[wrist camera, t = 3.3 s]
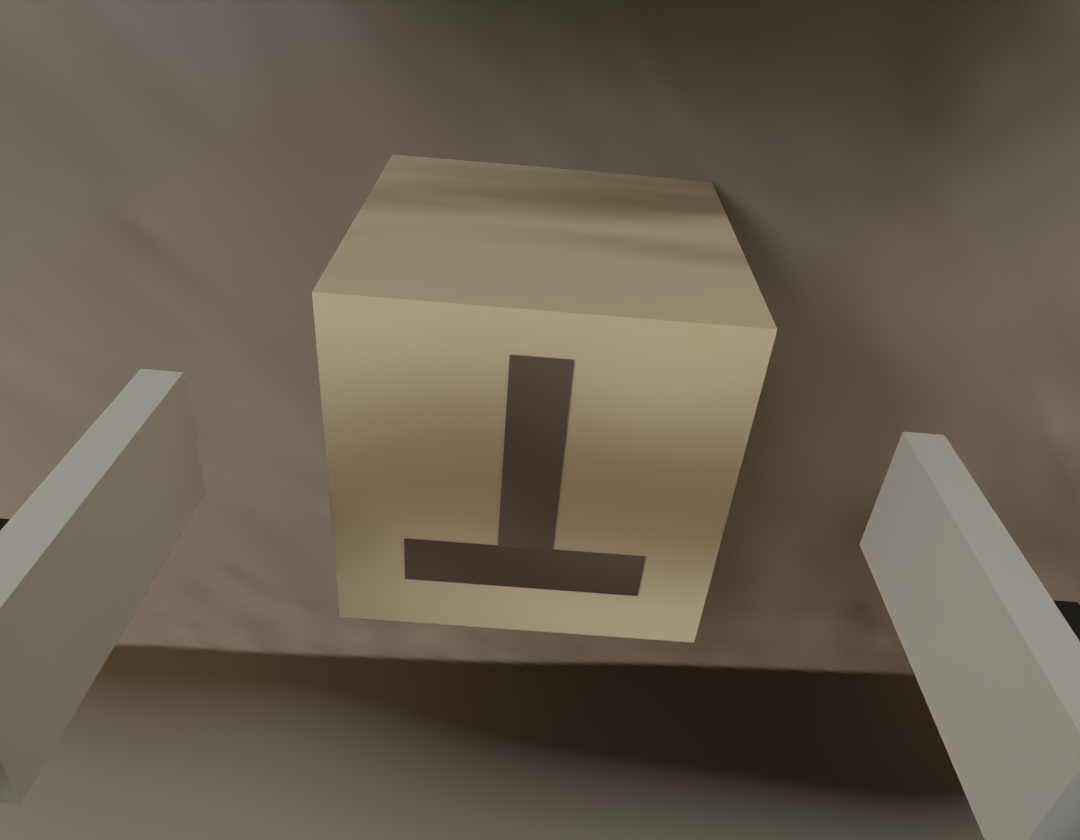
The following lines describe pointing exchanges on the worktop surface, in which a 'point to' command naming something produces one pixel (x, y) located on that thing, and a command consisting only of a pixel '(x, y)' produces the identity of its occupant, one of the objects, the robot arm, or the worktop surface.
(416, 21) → the worktop surface
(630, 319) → the letter cube
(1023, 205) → the worktop surface
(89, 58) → the worktop surface
